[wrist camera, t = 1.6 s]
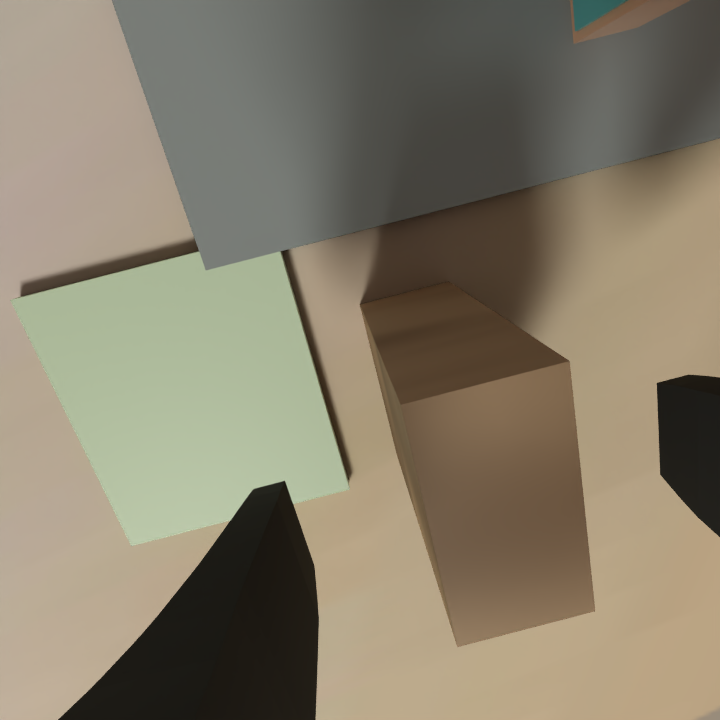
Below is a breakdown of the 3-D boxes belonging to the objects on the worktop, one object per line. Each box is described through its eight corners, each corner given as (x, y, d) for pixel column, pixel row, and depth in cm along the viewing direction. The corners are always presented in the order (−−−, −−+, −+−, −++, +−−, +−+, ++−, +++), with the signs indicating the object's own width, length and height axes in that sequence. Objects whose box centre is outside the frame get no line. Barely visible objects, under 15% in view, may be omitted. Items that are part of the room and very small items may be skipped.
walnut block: (476, 433, 16) (595, 611, 9) (396, 454, 16) (457, 647, 9) (448, 281, 14) (569, 361, 7) (359, 304, 14) (400, 404, 7)
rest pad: (349, 482, 16) (349, 489, 15) (135, 537, 16) (131, 545, 15) (275, 230, 13) (274, 232, 13) (18, 297, 13) (10, 300, 13)
